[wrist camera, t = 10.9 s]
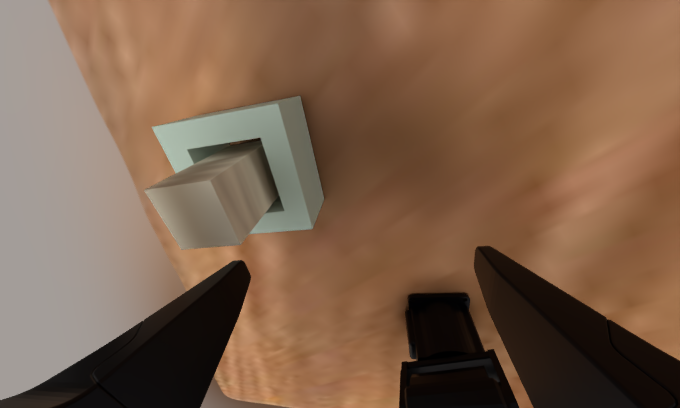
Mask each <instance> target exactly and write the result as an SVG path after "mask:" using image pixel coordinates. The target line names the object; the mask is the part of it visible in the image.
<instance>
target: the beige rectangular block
mask: <svg viewBox="0 0 680 408" xmlns="http://www.w3.org/2000/svg"><path fill="white" fill-rule="evenodd" d="M144 191H145V192H146V194H147V196H148V197H149V199H150V200H151V202H152V204H153V205H154V207H155V208H156V210H157V211H158V213H159V215H160V216H161V218H162V219H163V221H164V223H165V224H166V226H167V227H168V229H169V231H170V232H171V234H172V235H173V237H174V239H175V240H176V242H177V243H178V245H179V247H180V248H181V250H184V249H196V248H208V247H220V246H233V245H241V244H242V243H243V241H244V240H245V239H246V237H247V236H248V235H249V233H250V232H251V231H252V230H253V228H254V227H255V226H256V224H257V223H258V222H259V220H260V219H261V218H262V217H263V215H264V214H265V213H266V211H267V210H268V209H269V207H270V206H271V205H272V203H273V202H274V201H275V200H276V198H277V197H278V196H279V193H278V190H277V187H276V184H275V181H274V178H273V175H272V172H271V169H270V165H269V162H268V159H267V156H266V153H265V150H264V147H263V144H262V141H261V140H260V141H254V142H249V143H243V144H237V145H232V146H228V147H226V148H224V149H222V150H220V151H218V152H216V153H215V154H213V155H211V156H209V157H207V158H205V159H203V160H201V161H199V162H197V163H195V164H193V165H191V166H190V167H188V168H186V169H184V170H182V171H180V172H178V173H176V174H174V175H172V176H170V177H168V178H166V179H164V180H163V181H161V182H159V183H157V184H155V185H153V186H151V187H149V188H147V189H145V190H144Z"/></svg>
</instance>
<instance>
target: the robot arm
mask: <svg viewBox="0 0 680 408" xmlns="http://www.w3.org/2000/svg"><path fill="white" fill-rule="evenodd" d="M474 269H475V273H476V276H477V279H478V282H479V285H480V288H481V291H482V294H483V297H484V299H485V302H486V305H487V308H488V311H489V313H490V316H491V318H492V320H493V322H494V324H495V327H496V329H497V331H498V333H499V335H500V337H501V339H502V341H503V344H504V346H505V348H506V350H507V352H508V354H509V356H510V358H511V360H512V363H513V365H514V367H515V369H516V371H517V373H518V375H519V377H520V380H521V382H522V384H523V386H524V388H525V390H526V392H527V394H528V397H529V399H530V401H531V403H532V405H533V407H534V408H680V361H679V360H678V359H676V358H674V357H672V356H670V355H669V354H667V353H665V352H663V351H662V350H660V349H658V348H656V347H655V346H653V345H651V344H650V343H648V342H646V341H645V340H643V339H641V338H639V337H638V336H636V335H634V334H633V333H631V332H629V331H628V330H626V329H624V328H623V327H621V326H620V325H618V324H616V323H615V322H613V321H611V320H607V318H606V317H605V316H603V315H601V314H600V313H598V312H597V311H595V310H593V309H592V308H590V307H588V306H587V305H585V304H584V303H582V302H580V301H579V300H577V299H575V298H574V297H572V296H571V295H569V294H567V293H566V292H564V291H562V290H561V289H559V288H558V287H556V286H554V285H553V284H551V283H549V282H548V281H546V280H545V279H543V278H541V277H540V276H538V275H536V274H535V273H533V272H532V271H530V270H528V269H527V268H525V267H523V266H522V265H520V264H518V263H517V262H515V261H514V260H512V259H510V258H509V257H507V256H505V255H504V254H502V253H501V252H499V251H497V250H496V249H494V248H492V247H491V246H478V247H477V248H476V250H475V259H474ZM250 280H251V275H250V273H249V271H248V268H247V266H246V264H245V262H244V261H242V260H238V261H232V262H231V263H229V264H228V265H226V266H225V267H223V268H222V269H220V270H219V271H217V272H216V273H214V274H213V275H211V276H209V277H208V278H206V279H205V280H203V281H202V282H200V283H199V284H197V285H196V286H194V287H193V288H191V289H190V290H188V291H187V292H185V293H184V294H182V295H181V296H180V297H178V298H177V299H175V300H173V301H172V302H170V303H169V304H167V305H166V306H164V307H163V308H161V309H160V310H158V311H157V312H155V313H154V314H152V315H151V316H149V317H148V318H146V319H145V320H144V321H142V322H140V323H139V324H137V325H136V326H134V327H133V328H131V329H129V330H128V331H126V332H125V333H123V334H122V335H120V336H119V337H117V338H116V339H114V340H112V341H111V342H109V343H108V344H106V345H104V346H103V347H101V348H99V349H98V350H96V351H95V352H93V353H91V354H90V355H88V356H87V357H85V358H83V359H81V360H80V361H78V362H77V363H75V364H73V365H72V366H70V367H68V368H67V369H65V370H63V371H62V372H60V373H58V374H57V375H55V376H53V377H52V378H50V379H49V380H47V381H45V382H43V383H42V384H40V385H38V386H36V387H34V388H32V389H30V390H28V391H25V392H23V393H21V394H18V395H15V396H12V397H9V398H6V399H3V400H0V408H200V407H201V404H202V402H203V400H204V397H205V395H206V393H207V390H208V388H209V386H210V383H211V380H212V378H213V376H214V374H215V371H216V369H217V367H218V364H219V362H220V360H221V357H222V355H223V353H224V350H225V348H226V346H227V343H228V341H229V338H230V336H231V334H232V331H233V329H234V327H235V324H236V322H237V320H238V317H239V314H240V312H241V309H242V306H243V302H244V299H245V296H246V293H247V290H248V287H249V283H250ZM469 305H470V298H469V296H468V295H467V294H428V295H410V296H408V306H409V310H406V311H405V318H406V329H407V337H408V345H409V353H410V357H411V358H412V359H416V361H413V362H407V361H405V362H402V370H401V376H400V401H399V408H519V406H518V403H517V401H516V399H515V396H514V394H513V392H512V390H511V387H510V385H509V383H508V381H507V378H506V376H505V374H504V372H503V369H502V367H501V365H500V362H499V360H498V358H497V356H496V353H495V351H494V349H491V350H488V351H485V350H484V348H483V345H482V343H481V340H480V338H479V335H478V333H477V330H476V327H475V325H474V322H473V320H472V317H471V315H470V312H469Z"/></svg>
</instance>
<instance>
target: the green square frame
mask: <svg viewBox="0 0 680 408" xmlns="http://www.w3.org/2000/svg"><path fill="white" fill-rule="evenodd" d="M152 129H153V131H154V133H155V134H156V136H157V138H158V140H159V142H160V144H161V146H162V148H163V150H164V152H165V153H166V155H167V157H168V159H169V161H170V163H171V165H172V167H173V169H174V171H175V172H176V173H178V172H180V171H182V170H184V169H186V168H188V167H190V166H191V165H193V164H195V163H197V162H199V161H201V160H203V159H205V158H207V157H209V156H211V155H213V154H215V153H216V152H218V151H220V150H222V149H224V148H226V147H228V146H230V142H236V141H242V140H248V139H255V138H261V141H262V144H263V147H264V150H265V153H266V156H267V159H268V162H269V165H270V169H271V172H272V175H273V178H274V181H275V184H276V187H277V190H278V193H279V196H278V197H277V198H276V200H275V201H274V202H273V203H272V205H271V206H270V207H269V209H268V210H267V211H266V213H265V214H264V215H263V217H262V218H261V219H260V220H259V222H258V223H257V224H256V226H255V227H254V228H253V230H252V231H251V232H250V233H249V234H256V233H269V232H281V231H294V230H307V229H313V227H314V224H315V222H316V219H317V217H318V214H319V211H320V209H321V206H322V204H323V201H324V196H323V191H322V187H321V183H320V179H319V174H318V170H317V166H316V161H315V157H314V153H313V149H312V144H311V140H310V136H309V131H308V127H307V123H306V119H305V114H304V110H303V106H302V101H301V97H300V96H296V97H291V98H285V99H280V100H275V101H270V102H265V103H259V104H254V105H249V106H244V107H239V108H233V109H228V110H223V111H218V112H213V113H208V114H202V115H197V116H194V117H190V118H186V119H182V120H178V121H174V122H170V123H166V124H162V125H158V126H154V127H152Z"/></svg>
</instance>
